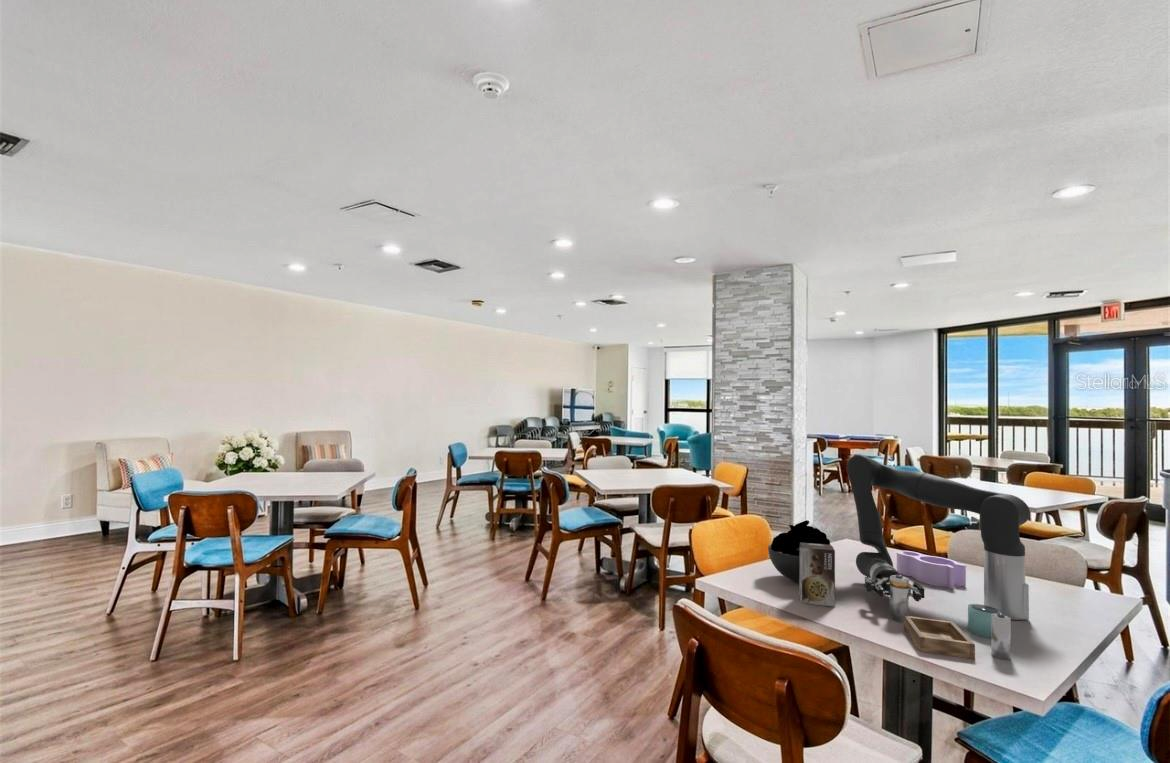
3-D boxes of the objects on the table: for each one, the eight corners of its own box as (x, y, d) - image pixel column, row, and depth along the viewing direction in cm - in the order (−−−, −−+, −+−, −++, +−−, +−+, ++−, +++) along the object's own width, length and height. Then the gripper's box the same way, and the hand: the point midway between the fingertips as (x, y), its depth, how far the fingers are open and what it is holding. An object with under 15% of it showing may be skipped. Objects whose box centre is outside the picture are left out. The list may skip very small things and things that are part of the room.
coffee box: (831, 600, 160) (832, 544, 161) (835, 607, 154) (836, 549, 155) (798, 596, 163) (799, 541, 164) (800, 603, 157) (801, 546, 157)
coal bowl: (803, 595, 164) (804, 531, 165) (754, 575, 182) (755, 518, 183) (847, 586, 173) (848, 527, 174) (796, 569, 191) (797, 515, 192)
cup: (994, 629, 142) (994, 605, 142) (1006, 640, 135) (1006, 615, 135) (963, 625, 144) (963, 602, 144) (974, 635, 137) (974, 611, 137)
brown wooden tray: (953, 635, 137) (953, 621, 137) (974, 659, 124) (974, 644, 124) (903, 628, 140) (904, 615, 141) (919, 651, 127) (919, 636, 127)
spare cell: (1006, 654, 127) (1006, 612, 127) (1013, 661, 123) (1013, 617, 124) (988, 651, 128) (988, 610, 128) (995, 658, 124) (995, 615, 125)
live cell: (906, 617, 148) (906, 574, 149) (910, 623, 144) (911, 578, 145) (887, 615, 150) (888, 572, 150) (891, 620, 145) (892, 576, 146)
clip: (889, 572, 192) (889, 552, 192) (911, 569, 197) (911, 549, 198) (948, 590, 174) (948, 568, 174) (970, 586, 179) (970, 564, 180)
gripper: (859, 562, 164) (870, 578, 149) (913, 568, 160) (930, 584, 144) (859, 587, 164) (870, 606, 148) (913, 594, 159) (930, 613, 144)
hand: (899, 595), depth 146 cm, fingers open, 8 cm apart
